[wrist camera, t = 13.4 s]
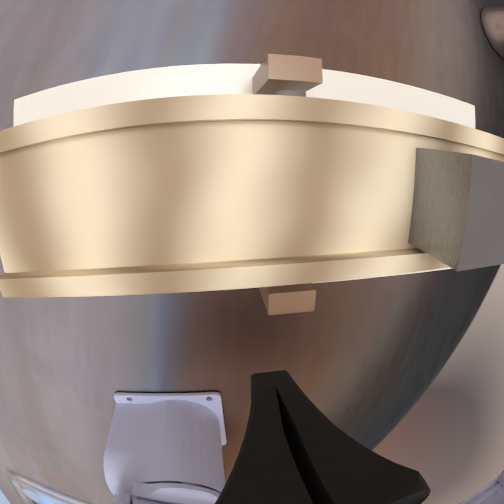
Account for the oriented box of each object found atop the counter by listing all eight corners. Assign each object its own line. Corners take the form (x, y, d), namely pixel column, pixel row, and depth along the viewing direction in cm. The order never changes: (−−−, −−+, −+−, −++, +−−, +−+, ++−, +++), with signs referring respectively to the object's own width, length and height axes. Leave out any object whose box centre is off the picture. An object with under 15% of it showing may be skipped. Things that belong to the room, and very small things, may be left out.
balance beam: (27, 284, 14) (5, 305, 12) (5, 128, 11) (-24, 128, 9) (474, 253, 18) (499, 266, 16) (487, 132, 15) (515, 135, 13)
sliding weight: (407, 242, 15) (457, 271, 11) (416, 147, 13) (472, 154, 9) (466, 239, 15) (512, 262, 12) (475, 158, 14) (526, 168, 10)
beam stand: (44, 289, 19) (6, 331, 13) (21, 100, 14) (-31, 94, 9) (453, 263, 23) (497, 291, 18) (466, 106, 18) (519, 106, 13)
